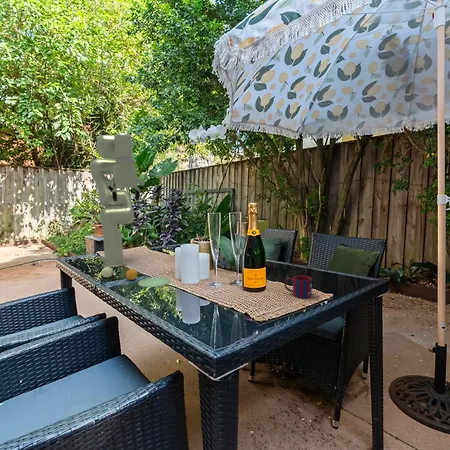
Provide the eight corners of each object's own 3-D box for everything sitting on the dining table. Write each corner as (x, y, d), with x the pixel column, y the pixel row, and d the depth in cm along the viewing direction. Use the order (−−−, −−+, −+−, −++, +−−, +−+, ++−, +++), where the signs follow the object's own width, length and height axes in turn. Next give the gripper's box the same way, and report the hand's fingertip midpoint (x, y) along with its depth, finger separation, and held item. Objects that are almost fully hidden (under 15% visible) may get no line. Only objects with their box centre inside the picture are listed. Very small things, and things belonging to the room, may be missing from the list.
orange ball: (123, 280, 139) (123, 270, 138) (130, 277, 144) (130, 267, 143) (133, 281, 137) (132, 270, 137) (139, 278, 142) (139, 268, 141)
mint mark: (131, 285, 132) (131, 284, 132) (150, 276, 145) (150, 276, 145) (159, 288, 127) (159, 287, 127) (176, 279, 140) (176, 278, 140)
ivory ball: (99, 278, 144) (98, 267, 144) (107, 275, 149) (106, 265, 148) (107, 279, 142) (107, 268, 142) (115, 276, 147) (114, 266, 146)
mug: (308, 300, 110) (308, 281, 109) (281, 295, 116) (281, 277, 115) (313, 294, 116) (314, 276, 115) (288, 290, 121) (288, 273, 120)
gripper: (140, 163, 145) (142, 199, 147) (102, 162, 136) (104, 201, 138) (145, 162, 139) (147, 200, 141) (105, 160, 130) (108, 201, 132)
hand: (126, 200), depth 139 cm, fingers open, 9 cm apart
